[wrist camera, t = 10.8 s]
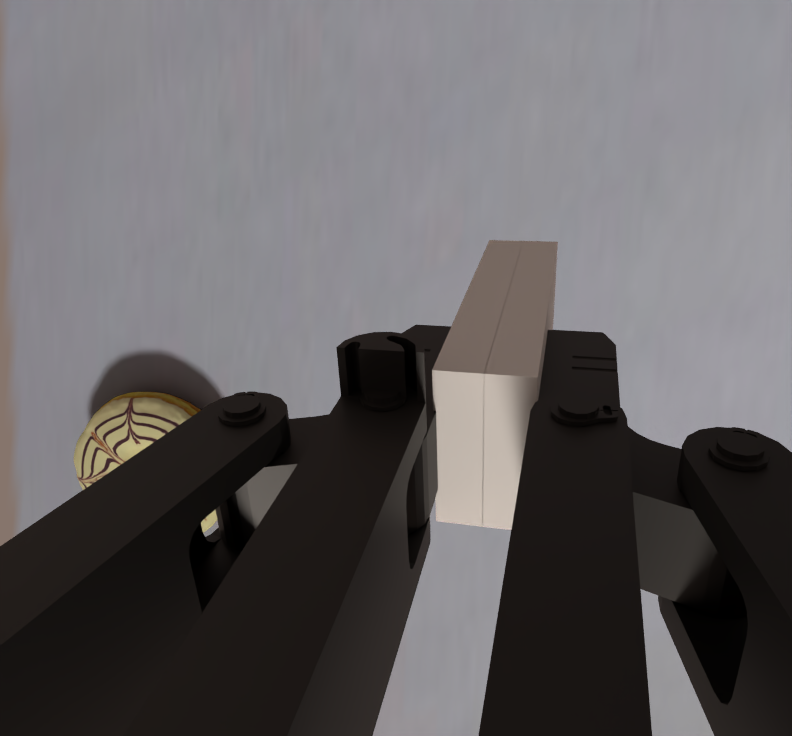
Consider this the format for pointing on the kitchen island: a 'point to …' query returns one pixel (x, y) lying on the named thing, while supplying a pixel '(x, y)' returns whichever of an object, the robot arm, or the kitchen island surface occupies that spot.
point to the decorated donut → (128, 433)
